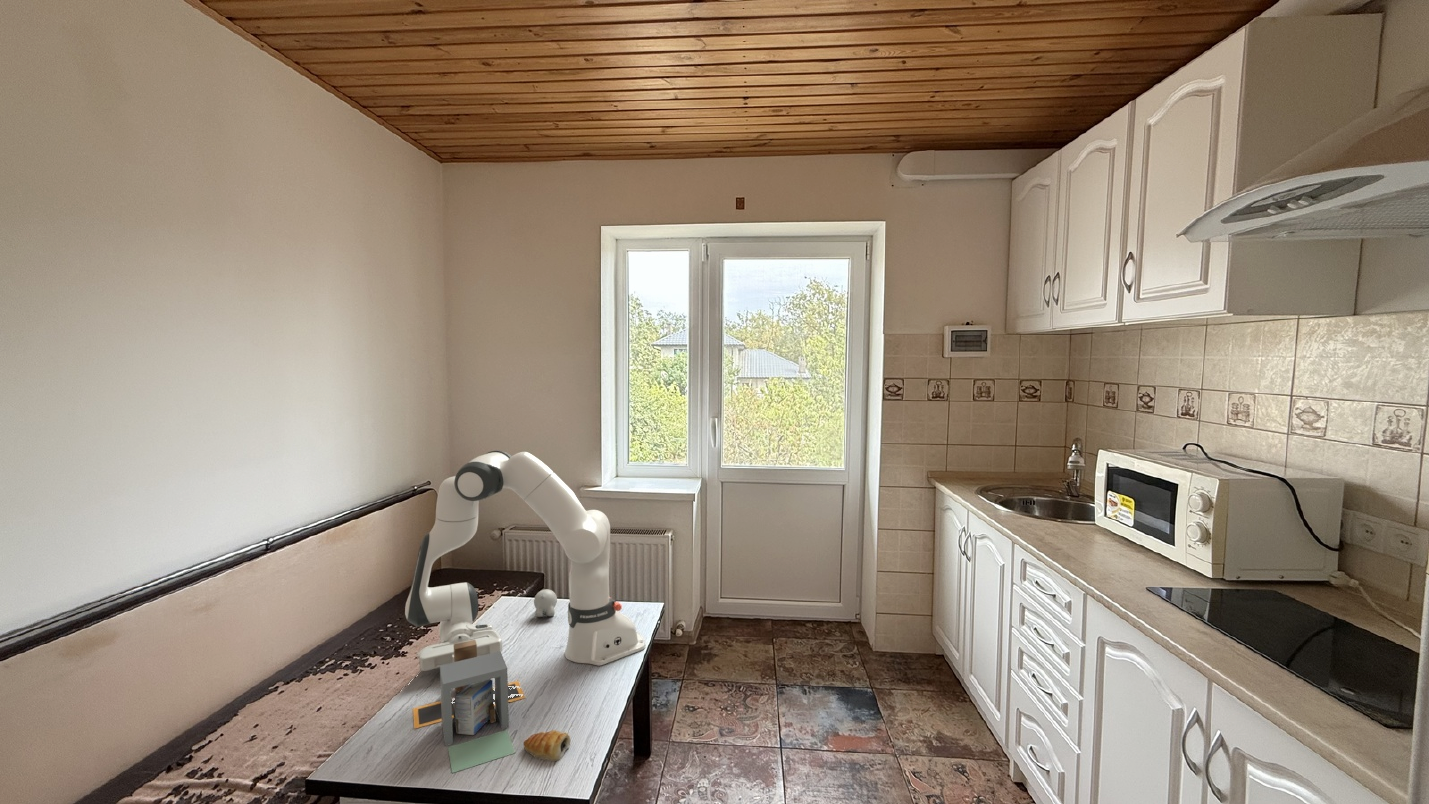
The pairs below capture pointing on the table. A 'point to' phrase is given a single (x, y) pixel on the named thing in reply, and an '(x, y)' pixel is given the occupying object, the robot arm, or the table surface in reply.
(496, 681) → the tunnel
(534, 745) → the pastry
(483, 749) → the pad
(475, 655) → the block
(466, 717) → the medicine box
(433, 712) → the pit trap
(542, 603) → the round bodied animal figurine
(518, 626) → the table surface
